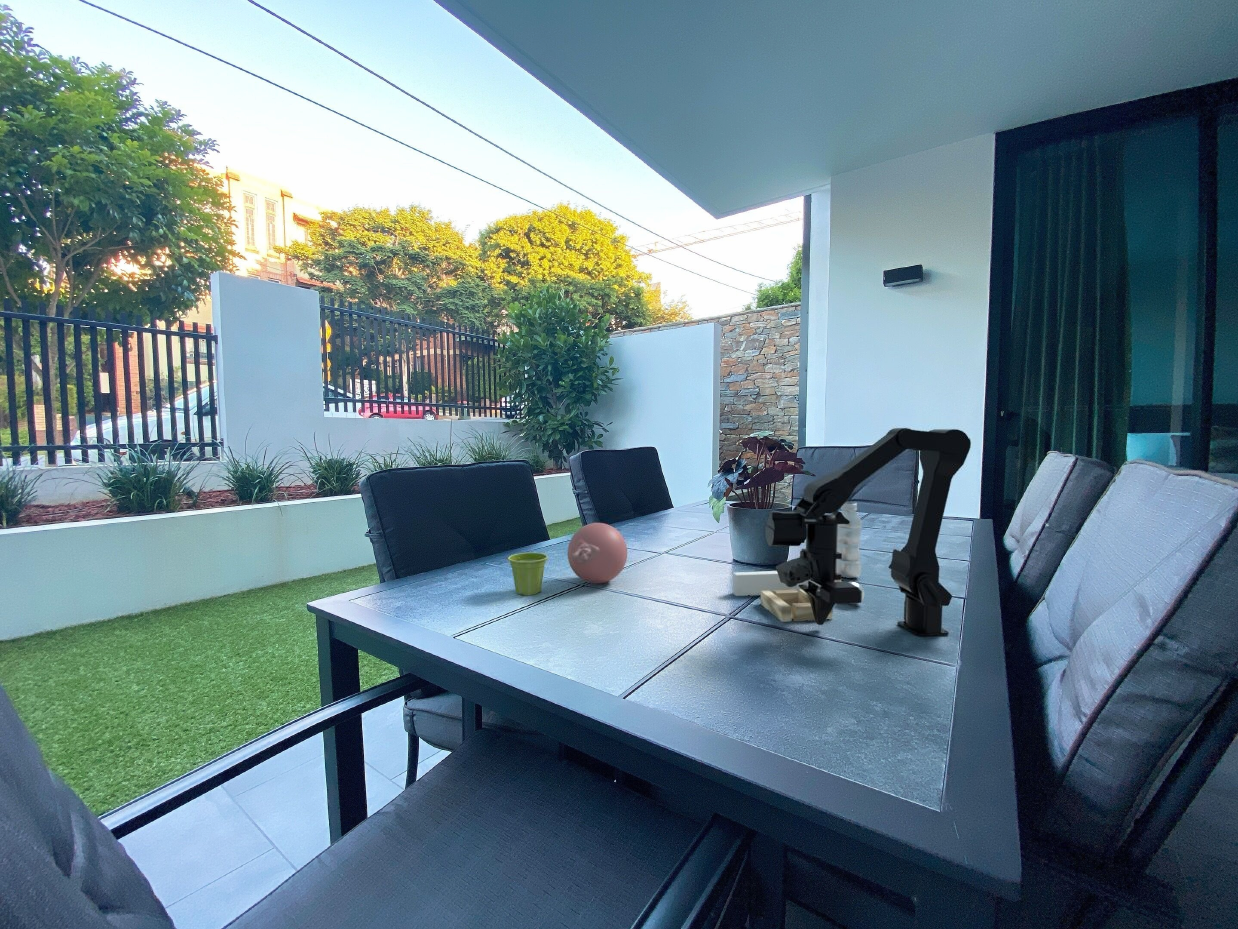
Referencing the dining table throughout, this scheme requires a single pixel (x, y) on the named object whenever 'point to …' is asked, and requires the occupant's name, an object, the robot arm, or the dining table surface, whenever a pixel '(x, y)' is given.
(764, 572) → the stop block
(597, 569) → the pink ball
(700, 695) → the dining table surface
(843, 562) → the plastic bottle
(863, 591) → the steel ball
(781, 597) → the beech collar
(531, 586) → the plant pot
